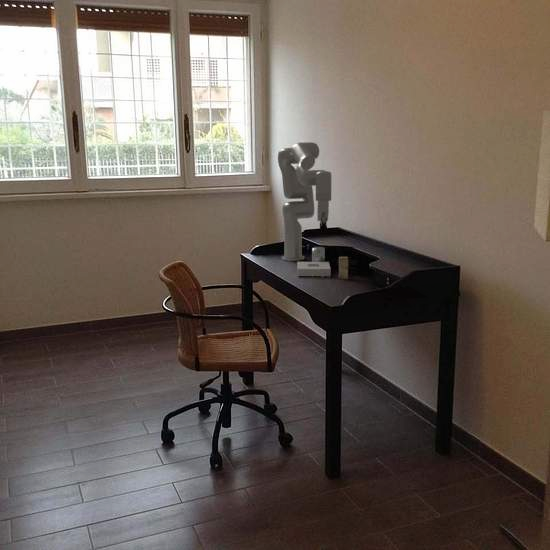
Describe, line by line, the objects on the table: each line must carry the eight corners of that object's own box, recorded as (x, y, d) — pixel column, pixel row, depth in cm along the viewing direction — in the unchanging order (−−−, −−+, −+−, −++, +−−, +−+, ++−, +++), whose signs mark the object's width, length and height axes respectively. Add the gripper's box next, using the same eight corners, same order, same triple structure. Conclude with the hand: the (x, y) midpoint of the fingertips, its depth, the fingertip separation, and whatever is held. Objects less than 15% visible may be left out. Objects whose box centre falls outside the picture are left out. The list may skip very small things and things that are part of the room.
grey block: (311, 265, 333) (311, 246, 330) (324, 265, 332) (324, 246, 330) (312, 268, 326) (312, 249, 324) (324, 268, 326) (325, 249, 324)
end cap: (336, 270, 322) (336, 257, 320) (349, 269, 323) (350, 256, 322) (343, 274, 312) (343, 261, 311) (356, 274, 314) (356, 260, 312)
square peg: (338, 276, 308) (339, 256, 305) (347, 276, 308) (347, 256, 305) (339, 278, 304) (339, 258, 301) (347, 278, 304) (348, 258, 301)
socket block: (297, 269, 324) (297, 261, 323) (328, 269, 323) (328, 261, 322) (297, 276, 308) (297, 268, 307) (330, 276, 308) (330, 268, 307)
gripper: (315, 195, 312) (315, 230, 316) (316, 199, 295) (315, 235, 299) (330, 195, 312) (330, 230, 316) (332, 199, 295) (331, 235, 299)
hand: (323, 232), depth 307 cm, fingers open, 9 cm apart
